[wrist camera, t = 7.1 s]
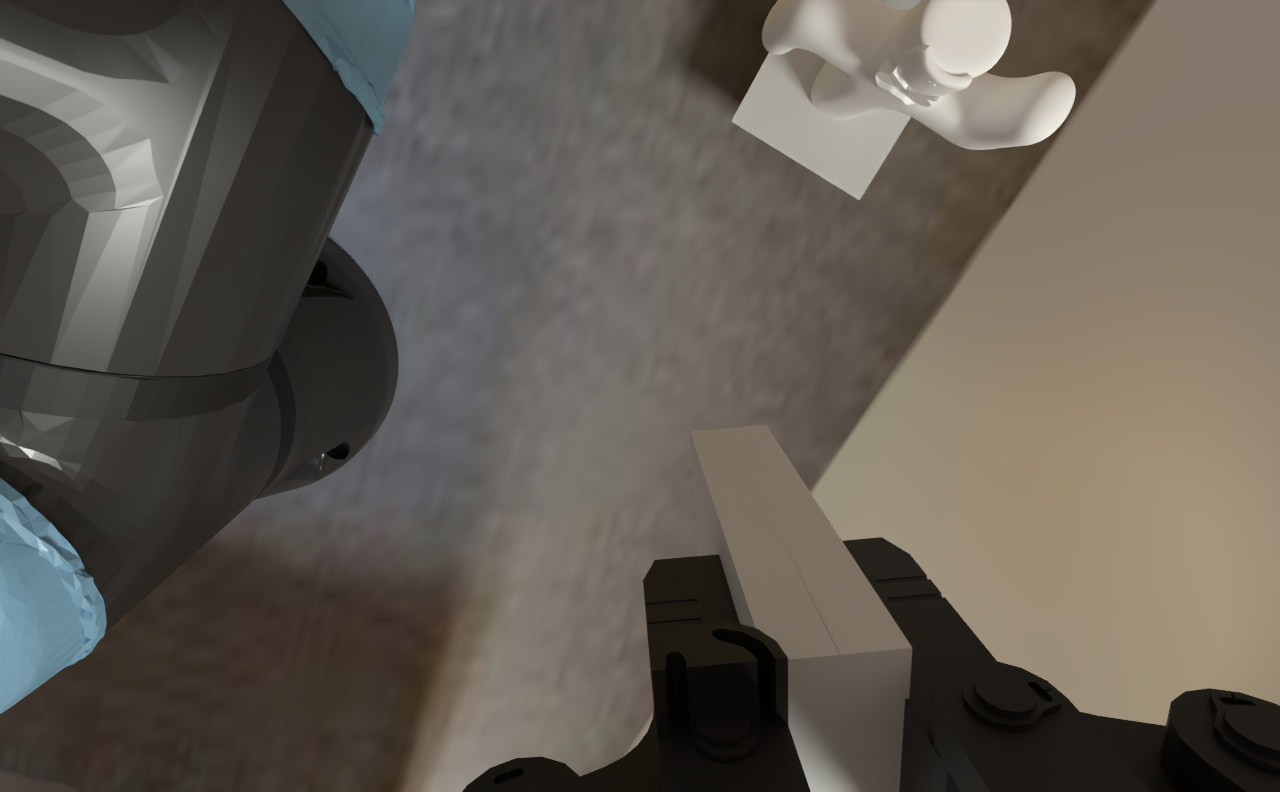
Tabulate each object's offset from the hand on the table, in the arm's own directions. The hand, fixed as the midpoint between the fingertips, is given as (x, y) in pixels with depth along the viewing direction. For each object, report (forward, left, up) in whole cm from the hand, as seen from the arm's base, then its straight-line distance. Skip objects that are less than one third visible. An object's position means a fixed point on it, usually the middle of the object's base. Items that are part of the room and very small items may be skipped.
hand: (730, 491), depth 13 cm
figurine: (+8, +10, -25) cm, 28 cm away
